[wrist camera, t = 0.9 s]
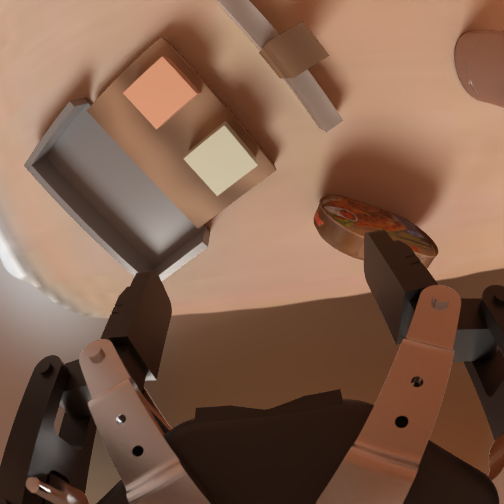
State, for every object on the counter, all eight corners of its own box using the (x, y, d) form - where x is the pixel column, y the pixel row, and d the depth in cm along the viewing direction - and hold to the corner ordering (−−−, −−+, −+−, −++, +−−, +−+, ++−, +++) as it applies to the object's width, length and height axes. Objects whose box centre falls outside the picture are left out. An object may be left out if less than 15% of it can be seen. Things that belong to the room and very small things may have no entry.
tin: (418, 222, 35) (453, 258, 28) (407, 243, 37) (438, 282, 30) (312, 186, 33) (334, 221, 25) (302, 212, 34) (320, 252, 27)
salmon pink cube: (169, 58, 23) (162, 56, 21) (201, 92, 25) (197, 94, 23) (133, 91, 24) (122, 93, 22) (164, 124, 26) (156, 129, 24)
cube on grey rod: (239, -8, 22) (241, -44, 13) (337, 114, 29) (378, 131, 20) (214, 8, 23) (204, -22, 14) (314, 129, 29) (346, 153, 21)
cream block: (225, 120, 27) (224, 125, 24) (255, 157, 29) (257, 165, 26) (188, 150, 28) (183, 158, 25) (218, 185, 30) (217, 196, 27)
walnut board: (165, 39, 24) (161, 37, 22) (274, 164, 31) (276, 170, 29) (94, 108, 27) (86, 110, 25) (199, 220, 34) (198, 228, 32)
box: (85, 97, 26) (69, 101, 23) (210, 231, 35) (207, 247, 32) (40, 156, 28) (24, 165, 25) (156, 272, 37) (150, 290, 34)
